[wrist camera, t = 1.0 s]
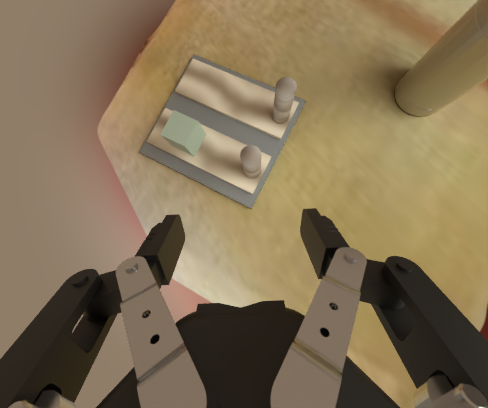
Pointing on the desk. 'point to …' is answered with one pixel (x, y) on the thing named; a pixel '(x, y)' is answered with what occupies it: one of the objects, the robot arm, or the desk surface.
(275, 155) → the lane board
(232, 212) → the desk surface
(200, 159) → the block strip
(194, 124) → the sage block
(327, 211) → the desk surface
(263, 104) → the empty strip
